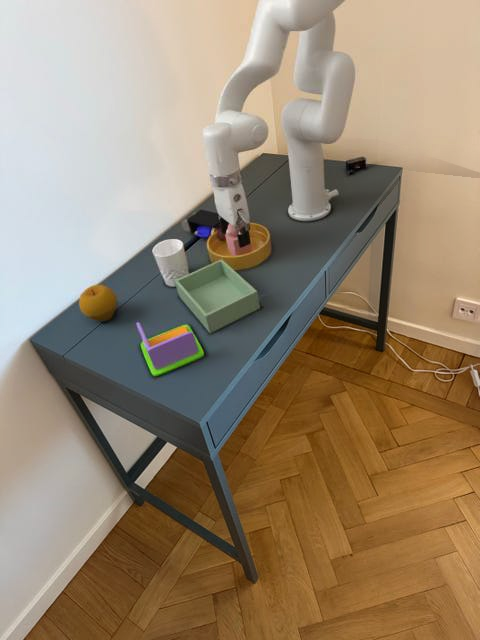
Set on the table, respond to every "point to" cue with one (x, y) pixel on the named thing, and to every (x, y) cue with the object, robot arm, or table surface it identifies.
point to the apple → (98, 303)
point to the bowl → (258, 254)
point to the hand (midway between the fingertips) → (235, 238)
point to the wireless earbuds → (355, 164)
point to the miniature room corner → (170, 349)
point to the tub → (217, 295)
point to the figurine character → (204, 224)
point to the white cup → (171, 260)
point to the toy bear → (235, 241)
